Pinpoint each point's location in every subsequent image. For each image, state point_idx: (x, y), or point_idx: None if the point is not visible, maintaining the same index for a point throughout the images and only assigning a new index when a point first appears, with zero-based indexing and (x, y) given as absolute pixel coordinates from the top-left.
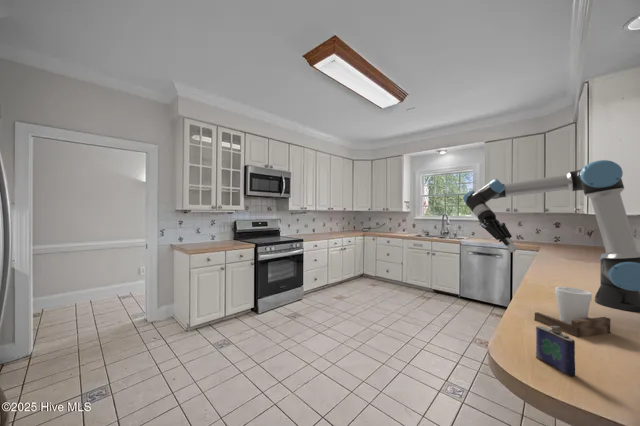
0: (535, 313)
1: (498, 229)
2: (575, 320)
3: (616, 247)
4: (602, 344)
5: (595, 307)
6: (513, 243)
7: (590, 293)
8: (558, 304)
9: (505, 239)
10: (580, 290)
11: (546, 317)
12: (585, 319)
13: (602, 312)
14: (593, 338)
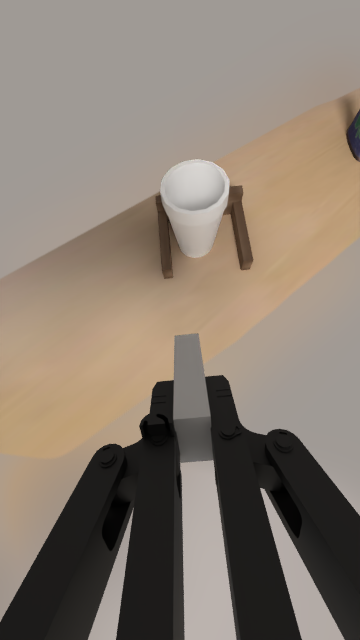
0: (252, 259)
1: (248, 626)
2: (237, 190)
3: None
4: None
5: (15, 327)
6: (156, 383)
7: (178, 164)
8: (217, 225)
9: (215, 416)
10: (165, 193)
11: (248, 239)
12: None
13: (42, 298)
14: None
